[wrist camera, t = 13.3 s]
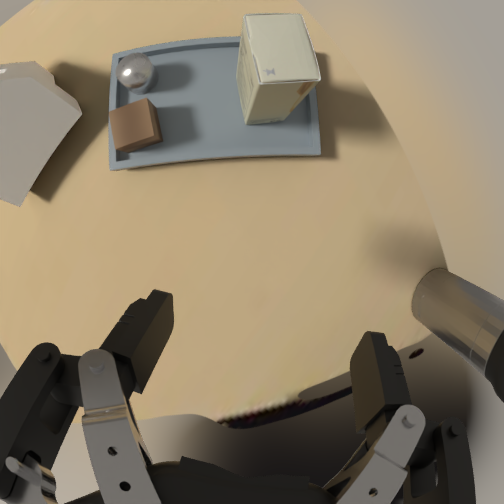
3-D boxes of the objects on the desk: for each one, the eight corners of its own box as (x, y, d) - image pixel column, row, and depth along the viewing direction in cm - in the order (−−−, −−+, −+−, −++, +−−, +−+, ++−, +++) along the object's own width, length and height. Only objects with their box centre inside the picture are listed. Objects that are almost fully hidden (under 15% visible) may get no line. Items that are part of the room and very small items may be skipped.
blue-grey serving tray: (302, 50, 26) (309, 40, 23) (312, 156, 30) (320, 154, 27) (121, 63, 24) (112, 54, 21) (119, 171, 28) (109, 170, 25)
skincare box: (284, 121, 27) (325, 85, 15) (244, 126, 26) (259, 89, 15) (274, 68, 25) (303, 11, 13) (234, 72, 25) (242, 12, 13)
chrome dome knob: (158, 64, 24) (150, 49, 20) (158, 91, 24) (149, 79, 21) (128, 70, 23) (116, 57, 19) (127, 97, 24) (114, 87, 20)
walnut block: (156, 107, 25) (146, 97, 21) (163, 141, 26) (154, 135, 22) (122, 119, 25) (108, 111, 21) (128, 152, 26) (115, 149, 22)
